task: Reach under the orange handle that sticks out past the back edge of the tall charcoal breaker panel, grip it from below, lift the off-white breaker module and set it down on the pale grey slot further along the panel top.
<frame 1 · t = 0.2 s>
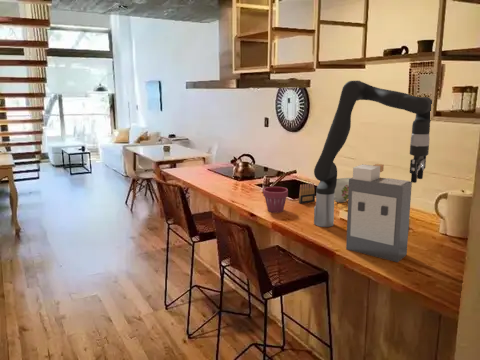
hand: (416, 180, 187), 29 cm above the worktop, tool pointing down, fingers open, 8 cm apart
pitcher: (339, 201, 265), on the worktop
plant pot: (275, 210, 248), on the worktop
breaker panel: (375, 251, 185), on the worktop
breaker module: (366, 178, 182), point 32 cm above the worktop, touching breaker panel
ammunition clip: (306, 202, 264), on the worktop
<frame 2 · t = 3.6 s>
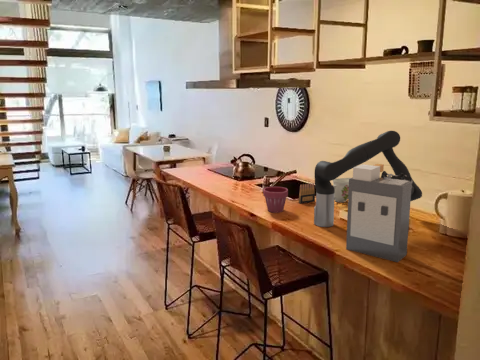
hand: (392, 173, 204), 29 cm above the worktop, tool pointing upward, fingers open, 8 cm apart
nothing on the worktop moved.
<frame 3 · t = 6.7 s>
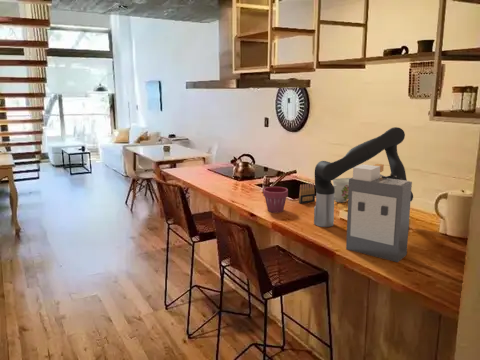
hand: (381, 174, 194), 31 cm above the worktop, tool pointing upward, fingers open, 8 cm apart
nothing on the worktop moved.
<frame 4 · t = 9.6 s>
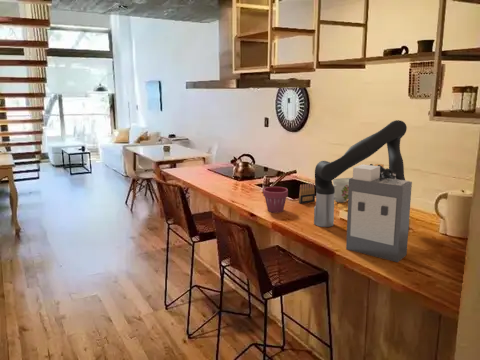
hand: (374, 166, 187), 36 cm above the worktop, tool pointing upward, fingers closed on breaker module, 3 cm apart
breaker module: (366, 178, 182), point 32 cm above the worktop, touching breaker panel, gripper
everything else where it was.
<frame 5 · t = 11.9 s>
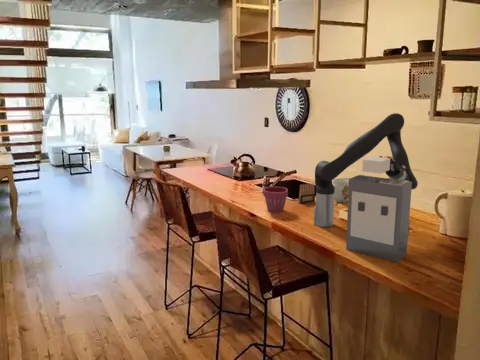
hand: (384, 158, 183), 40 cm above the worktop, tool pointing upward, fingers closed on breaker module, 3 cm apart
breaker module: (376, 170, 179), point 36 cm above the worktop, touching gripper
everything else where it was.
when the fingers open (37 cm above the worktop, at t = 14.4 s): breaker module stays where it is, resting on breaker panel.
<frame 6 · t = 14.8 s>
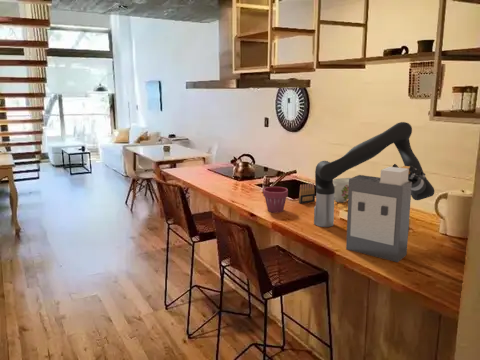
hand: (402, 167, 179), 37 cm above the worktop, tool pointing upward, fingers open, 6 cm apart
breaker module: (394, 181, 174), point 32 cm above the worktop, touching breaker panel
everything else where it was.
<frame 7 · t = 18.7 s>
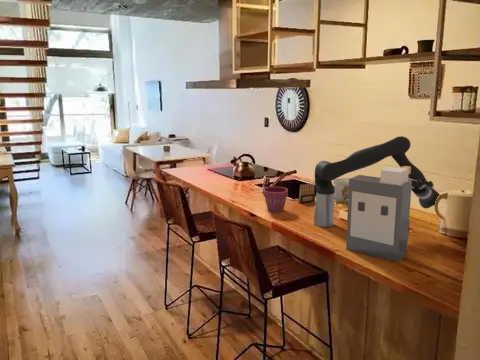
hand: (412, 178, 193), 29 cm above the worktop, tool pointing upward, fingers open, 8 cm apart
nothing on the worktop moved.
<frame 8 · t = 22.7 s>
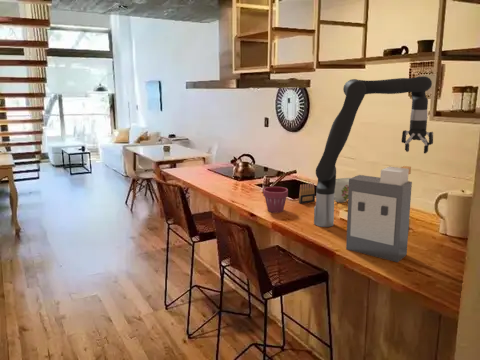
hand: (416, 152, 208), 38 cm above the worktop, tool pointing down, fingers open, 8 cm apart
nothing on the worktop moved.
at the end: breaker module 0.2 cm from the target spot on the breaker panel, point 32.3 cm above the breaker panel's base; breaker module tilted 0°; the gripper is holding nothing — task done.
